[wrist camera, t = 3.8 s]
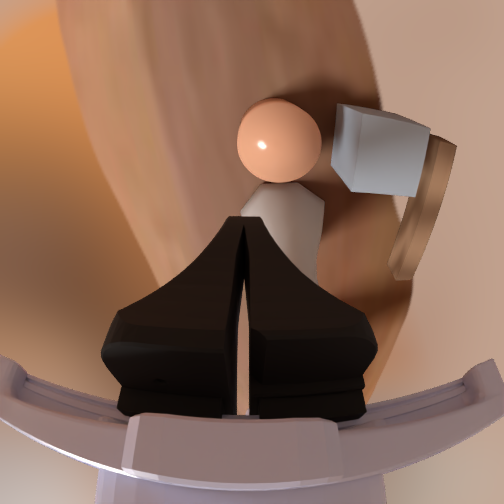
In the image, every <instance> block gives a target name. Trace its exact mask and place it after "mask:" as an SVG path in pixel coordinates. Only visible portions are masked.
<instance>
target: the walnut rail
mask: <svg viewBox="0 0 504 504" xmlns="http://www.w3.org/2000/svg"><path fill="white" fill-rule="evenodd" d="M456 147H457V146H456V145H455V144H453V143H451V142H449V141H447V140H445V139H443V138H441V137H439V136H435V135H432V134H430V135H429V140H428V145H427V150H426V155H425V160H424V164H423V169H422V173H421V177H420V181H419V185H418V189H417V192H416V196H415V197H409V198H408V202H407V205H406V209H405V212H404V216H403V219H402V222H401V225H400V229H399V232H398V235H397V238H396V241H395V244H394V247H393V249H392V252H391V255H390V258H389V261H388V263H387V265H388V267H389V268H390V270H391V272H392V274H393V276H394V278H395V280H412V278H413V276H414V273H415V271H416V269H417V266H418V264H419V262H420V260H421V257H422V255H423V253H424V250H425V248H426V245H427V243H428V240H429V237H430V235H431V232H432V230H433V227H434V224H435V221H436V219H437V216H438V213H439V210H440V207H441V203H442V200H443V197H444V194H445V190H446V187H447V183H448V180H449V176H450V172H451V169H452V164H453V161H454V156H455V152H456Z"/></svg>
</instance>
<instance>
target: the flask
mask: <svg viewBox="0 0 504 504" xmlns="http://www.w3.org/2000/svg"><path fill="white" fill-rule="evenodd" d="M324 205H325V201H323V200H322V199H320V198H319V197H318V196H316V195H315V194H313V193H312V192H311V191H309V190H308V189H306V188H305V187H303V186H302V185H300V184H299V183H271V184H260V186H259V187H258V188H257V190H256V191H255V192H254V194H253V195H252V196H251V198H250V199H249V200H248V202H247V203H246V204H245V206H244V207H243V209H242V210H241V216H260V217H261V218H262V220H263V222H264V224H265V226H266V228H267V229H268V231H269V233H270V234H271V236H272V237H273V239H274V240H275V242H276V243H277V244H278V246H279V247H280V248H281V250H282V251H283V252H284V253H285V255H286V256H287V257H288V258H289V259H290V260H291V262H292V263H293V264H294V265H295V266H296V267H297V268H298V269H299V270H300V271H301V272H302V273H303V274H305V275H306V276H307V277H308V278H309V279H311V280H312V281H313V282H314V283H316V284H317V285H318V281H317V272H316V259H317V253H318V248H319V244H320V239H321V234H322V227H323V216H324ZM318 286H319V285H318Z"/></svg>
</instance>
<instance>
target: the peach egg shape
mask: <svg viewBox="0 0 504 504" xmlns="http://www.w3.org/2000/svg"><path fill="white" fill-rule="evenodd" d="M321 145H322V141H321V134H320V131H319V128H318V126H317V124H316V123H315V121H314V120H313V119H312V117H311V116H310V115H309V114H308V113H306V112H305V111H303V110H302V109H301V108H299V107H298V106H296V105H294V104H293V103H291V102H289V101H287V100H284V99H279V98H269V99H264V100H261V101H259V102H257V103H255V104H253V105H252V106H251V107H250V108H249V109H248V110H247V111H246V112H245V114H244V115H243V117H242V120H241V122H240V127H239V133H238V138H237V148H238V153H239V156H240V159H241V161H242V162H243V164H244V165H245V167H246V168H247V169H248V170H249V171H250V172H251V173H252V174H254V175H255V176H257V177H258V178H260V179H263V180H266V181H269V182H276V183H282V182H289V181H293V180H296V179H298V178H300V177H302V176H303V175H305V174H306V173H307V172H309V171H310V170H311V169H312V167H313V166H314V165H315V163H316V162H317V160H318V158H319V155H320V152H321Z"/></svg>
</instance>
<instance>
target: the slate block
mask: <svg viewBox="0 0 504 504" xmlns="http://www.w3.org/2000/svg"><path fill="white" fill-rule="evenodd" d="M429 135H430V128H428V127H426V126H424V125H422V124H419V123H417V122H415V121H412V120H410V119H408V118H405V117H403V116H400V115H398V114H395V113H390V112H386V111H381V110H376V109H370V108H365V107H359V106H353V105H346V104H339V103H337V110H336V122H335V132H334V142H333V151H332V160H331V166H332V167H333V169H334V170H335V171H336V172H337V174H338V175H339V176H340V177H341V179H342V180H343V181H344V183H345V184H346V185H347V186H348V188H349V189H350V190H351V192H363V193H376V194H388V195H399V196H408V197H415V196H416V192H417V189H418V185H419V181H420V177H421V173H422V169H423V164H424V160H425V155H426V150H427V145H428V140H429Z"/></svg>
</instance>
